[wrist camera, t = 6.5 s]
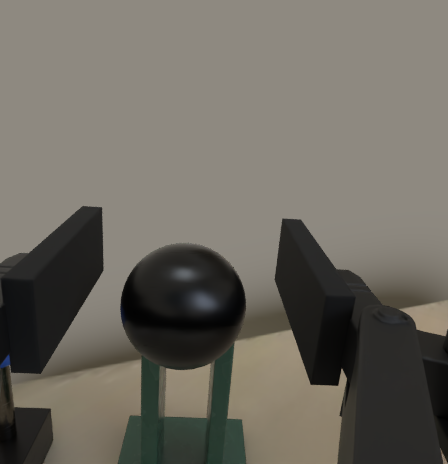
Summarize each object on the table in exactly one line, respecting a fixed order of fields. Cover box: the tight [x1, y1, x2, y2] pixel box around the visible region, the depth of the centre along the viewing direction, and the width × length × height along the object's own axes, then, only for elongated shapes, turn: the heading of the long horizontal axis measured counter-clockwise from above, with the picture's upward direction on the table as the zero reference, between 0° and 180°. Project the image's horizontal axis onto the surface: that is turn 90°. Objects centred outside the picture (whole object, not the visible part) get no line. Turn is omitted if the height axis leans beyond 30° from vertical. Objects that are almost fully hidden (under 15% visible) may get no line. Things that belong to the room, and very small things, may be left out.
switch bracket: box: [118, 267, 246, 464], centre depth 25 cm, size 10×9×16 cm
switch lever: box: [120, 243, 246, 370], centre depth 17 cm, size 15×4×4 cm
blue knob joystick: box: [0, 355, 53, 464], centre depth 26 cm, size 4×5×13 cm
